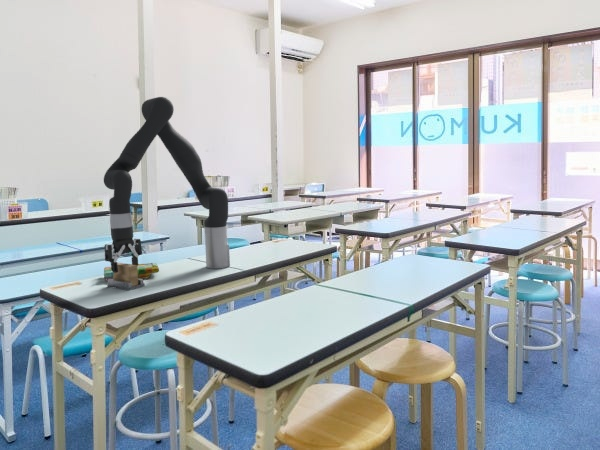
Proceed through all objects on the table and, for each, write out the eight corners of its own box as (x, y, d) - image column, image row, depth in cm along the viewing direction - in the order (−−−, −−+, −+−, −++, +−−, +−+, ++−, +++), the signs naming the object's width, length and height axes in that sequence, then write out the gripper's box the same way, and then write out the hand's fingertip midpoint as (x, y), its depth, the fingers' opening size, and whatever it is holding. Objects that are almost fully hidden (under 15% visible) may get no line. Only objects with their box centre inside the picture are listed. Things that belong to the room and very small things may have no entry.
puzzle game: (103, 265, 202) (155, 260, 209) (104, 277, 203) (156, 272, 210) (103, 271, 191) (158, 266, 198) (104, 283, 192) (159, 278, 199)
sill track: (107, 286, 186) (106, 279, 186) (123, 282, 192) (122, 275, 192) (128, 290, 180) (127, 283, 179) (144, 286, 186) (143, 279, 185)
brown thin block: (113, 282, 187) (112, 264, 187) (120, 281, 190) (119, 262, 189) (131, 286, 182) (130, 266, 181) (138, 284, 184) (136, 265, 183)
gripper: (131, 222, 191) (134, 265, 193) (97, 228, 179) (101, 273, 182) (144, 223, 187) (147, 266, 189) (111, 229, 175) (115, 275, 177)
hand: (125, 269), depth 185 cm, fingers open, 8 cm apart
